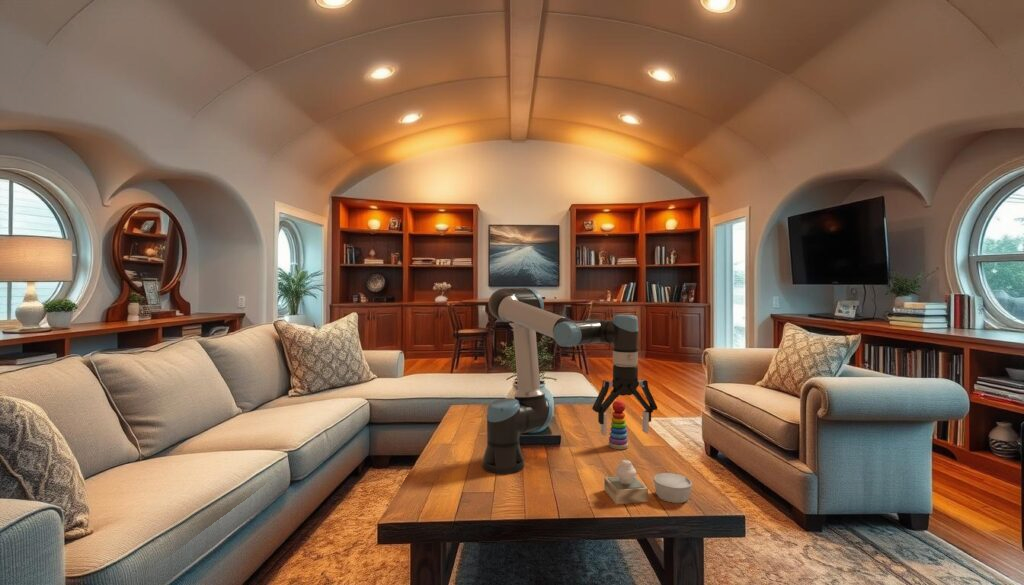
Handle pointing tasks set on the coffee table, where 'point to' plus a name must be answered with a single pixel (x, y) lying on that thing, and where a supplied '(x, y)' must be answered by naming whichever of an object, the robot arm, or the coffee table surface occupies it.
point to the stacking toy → (618, 427)
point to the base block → (625, 491)
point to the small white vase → (626, 472)
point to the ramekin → (672, 487)
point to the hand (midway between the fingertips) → (624, 433)
